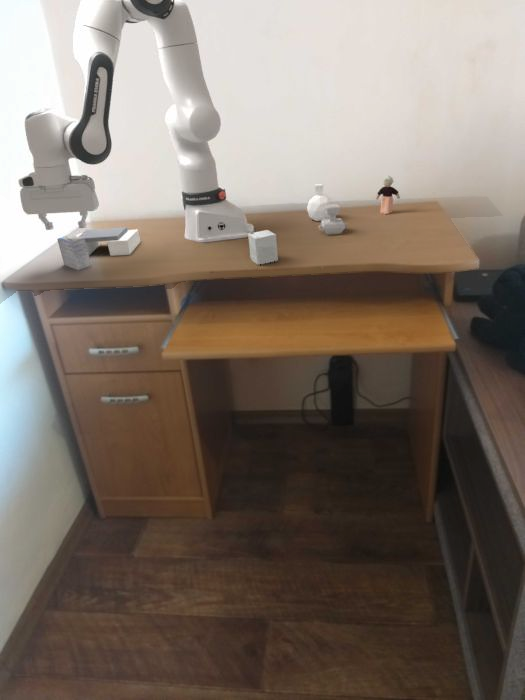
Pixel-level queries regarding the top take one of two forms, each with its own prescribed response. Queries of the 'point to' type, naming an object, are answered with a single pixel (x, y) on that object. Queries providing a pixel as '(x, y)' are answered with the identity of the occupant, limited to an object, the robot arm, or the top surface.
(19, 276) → the top surface
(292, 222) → the top surface
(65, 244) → the medicine box
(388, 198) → the grandmother figurine
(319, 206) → the perfume bottle
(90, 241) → the cutout shelf
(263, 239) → the skincare box
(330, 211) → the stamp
